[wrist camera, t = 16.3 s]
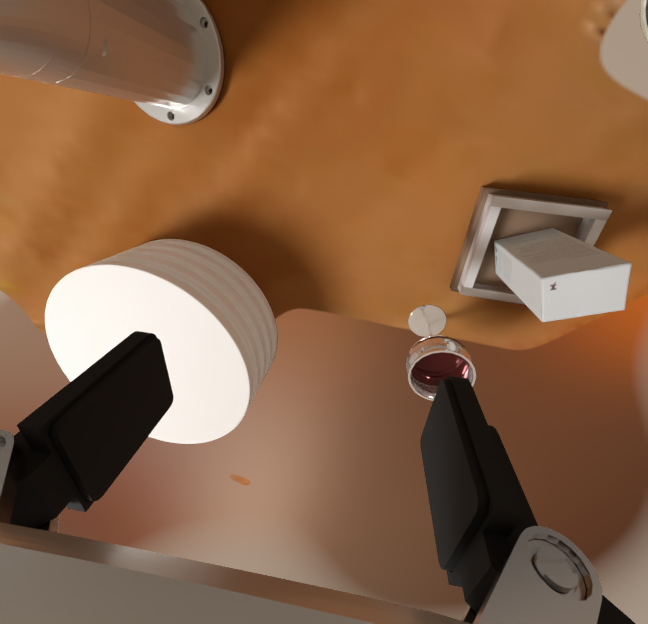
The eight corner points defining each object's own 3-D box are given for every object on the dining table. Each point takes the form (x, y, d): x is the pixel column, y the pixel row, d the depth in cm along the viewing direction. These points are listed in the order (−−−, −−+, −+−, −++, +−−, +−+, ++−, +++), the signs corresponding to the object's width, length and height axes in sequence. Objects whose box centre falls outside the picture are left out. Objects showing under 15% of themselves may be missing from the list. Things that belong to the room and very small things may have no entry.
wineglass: (391, 318, 43) (394, 371, 32) (433, 289, 40) (450, 338, 30) (421, 350, 44) (433, 411, 34) (463, 324, 42) (490, 382, 31)
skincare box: (494, 274, 36) (539, 324, 26) (492, 239, 35) (540, 277, 24) (553, 263, 35) (627, 311, 24) (554, 226, 33) (634, 260, 23)
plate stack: (101, 217, 44) (17, 237, 34) (289, 266, 42) (260, 301, 32) (124, 367, 57) (69, 413, 47) (267, 408, 56) (242, 464, 46)
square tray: (481, 186, 34) (491, 190, 31) (598, 200, 33) (620, 205, 29) (449, 286, 40) (455, 297, 36) (548, 301, 38) (562, 314, 35)
